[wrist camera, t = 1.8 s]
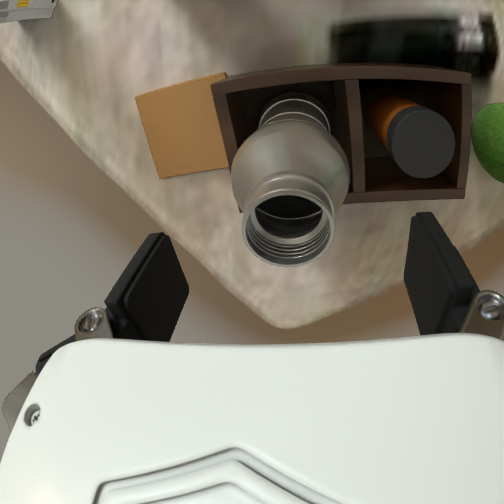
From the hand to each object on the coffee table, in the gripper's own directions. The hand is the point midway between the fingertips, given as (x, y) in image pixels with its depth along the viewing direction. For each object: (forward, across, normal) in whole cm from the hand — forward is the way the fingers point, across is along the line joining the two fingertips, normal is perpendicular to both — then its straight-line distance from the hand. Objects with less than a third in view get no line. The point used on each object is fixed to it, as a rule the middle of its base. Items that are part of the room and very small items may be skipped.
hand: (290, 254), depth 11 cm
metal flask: (+21, 0, -1) cm, 21 cm away
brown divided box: (+21, -5, -1) cm, 22 cm away
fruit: (+21, -22, 0) cm, 30 cm away
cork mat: (+21, +11, -2) cm, 24 cm away
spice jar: (+21, -9, -1) cm, 23 cm away
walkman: (+21, +27, -25) cm, 42 cm away
